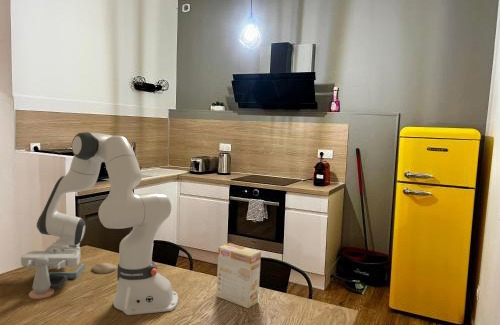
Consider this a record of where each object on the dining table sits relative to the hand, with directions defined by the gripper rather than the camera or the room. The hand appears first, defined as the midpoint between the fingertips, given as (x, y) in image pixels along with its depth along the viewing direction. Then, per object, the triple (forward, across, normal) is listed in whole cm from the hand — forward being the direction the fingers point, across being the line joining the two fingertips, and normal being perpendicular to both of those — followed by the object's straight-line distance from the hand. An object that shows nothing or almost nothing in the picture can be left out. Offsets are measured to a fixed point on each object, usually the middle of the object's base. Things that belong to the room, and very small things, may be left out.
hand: (42, 267), depth 134 cm
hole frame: (-7, 0, +10) cm, 12 cm away
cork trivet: (-22, +16, +10) cm, 29 cm away
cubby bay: (-17, 0, +10) cm, 20 cm away
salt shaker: (+1, 0, +9) cm, 9 cm away
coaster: (+1, 0, +10) cm, 10 cm away
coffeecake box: (+6, +71, +10) cm, 72 cm away
